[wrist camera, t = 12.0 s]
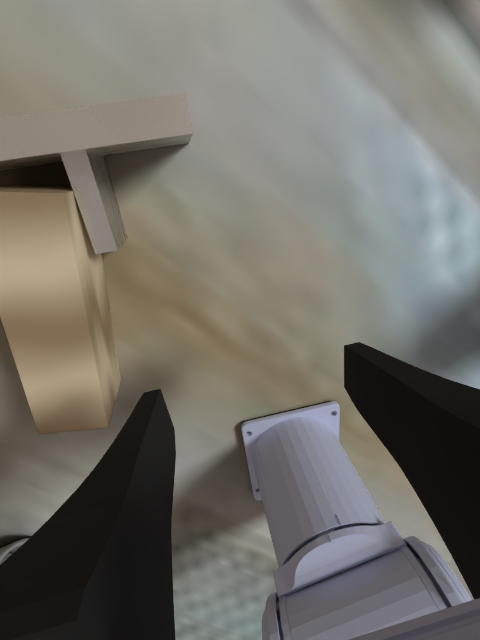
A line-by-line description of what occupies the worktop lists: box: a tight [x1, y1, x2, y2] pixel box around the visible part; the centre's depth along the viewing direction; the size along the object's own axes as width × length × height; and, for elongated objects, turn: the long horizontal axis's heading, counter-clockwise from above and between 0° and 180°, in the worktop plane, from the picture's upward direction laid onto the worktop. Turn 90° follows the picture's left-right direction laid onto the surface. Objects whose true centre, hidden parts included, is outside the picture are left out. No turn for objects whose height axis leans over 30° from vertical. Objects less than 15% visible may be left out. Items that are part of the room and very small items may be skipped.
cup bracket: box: [0, 93, 193, 254], centre depth 13 cm, size 16×5×5 cm, turn 98°
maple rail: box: [0, 185, 121, 434], centre depth 16 cm, size 12×4×4 cm, turn 178°
